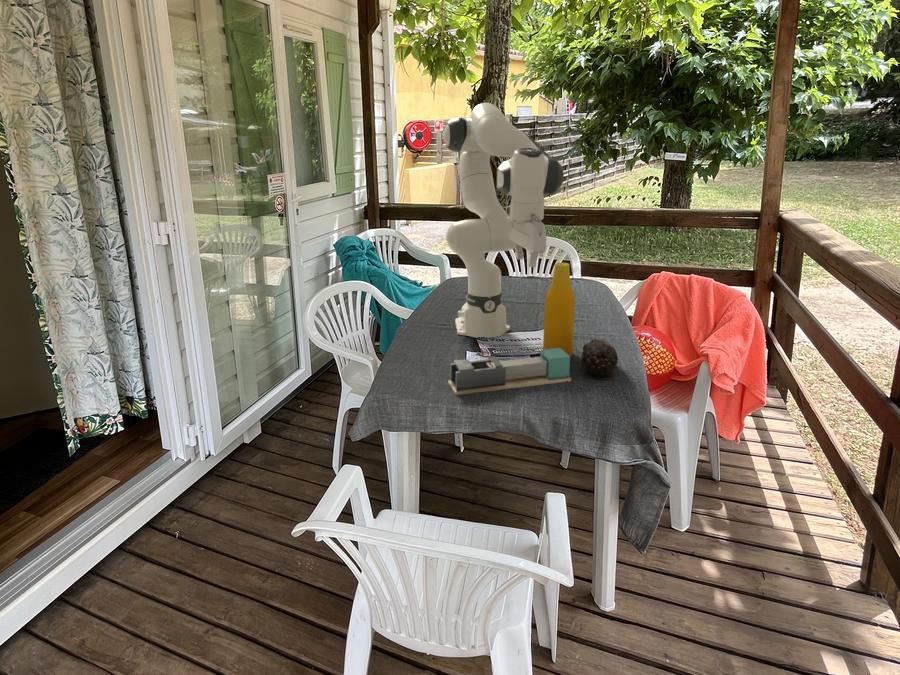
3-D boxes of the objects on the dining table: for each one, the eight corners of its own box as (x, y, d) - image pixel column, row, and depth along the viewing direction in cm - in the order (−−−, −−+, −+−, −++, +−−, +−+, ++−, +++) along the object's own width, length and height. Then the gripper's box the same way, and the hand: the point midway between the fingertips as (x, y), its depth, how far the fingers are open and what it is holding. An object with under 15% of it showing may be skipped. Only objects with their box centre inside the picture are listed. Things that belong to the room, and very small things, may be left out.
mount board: (448, 383, 179) (448, 380, 179) (559, 370, 187) (559, 367, 186) (455, 394, 172) (455, 392, 171) (571, 381, 179) (571, 378, 179)
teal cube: (539, 373, 185) (540, 349, 182) (558, 371, 186) (559, 347, 183) (549, 382, 178) (550, 358, 176) (568, 380, 180) (570, 356, 177)
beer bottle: (545, 360, 194) (549, 268, 184) (540, 349, 203) (544, 260, 193) (575, 359, 194) (581, 267, 184) (569, 348, 203) (574, 260, 193)
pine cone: (607, 358, 195) (610, 327, 192) (620, 382, 179) (623, 349, 175) (573, 357, 196) (575, 327, 192) (583, 381, 179) (585, 348, 176)
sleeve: (450, 381, 178) (450, 360, 176) (497, 375, 181) (497, 355, 179) (456, 391, 172) (456, 370, 170) (505, 385, 175) (505, 364, 173)
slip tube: (485, 375, 179) (485, 362, 177) (551, 368, 183) (551, 355, 182) (490, 381, 175) (490, 368, 174) (557, 373, 180) (557, 360, 178)
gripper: (553, 217, 160) (551, 270, 165) (524, 205, 178) (523, 254, 183) (530, 219, 158) (528, 272, 163) (503, 207, 177) (502, 255, 182)
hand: (525, 262), depth 173 cm, fingers open, 8 cm apart
